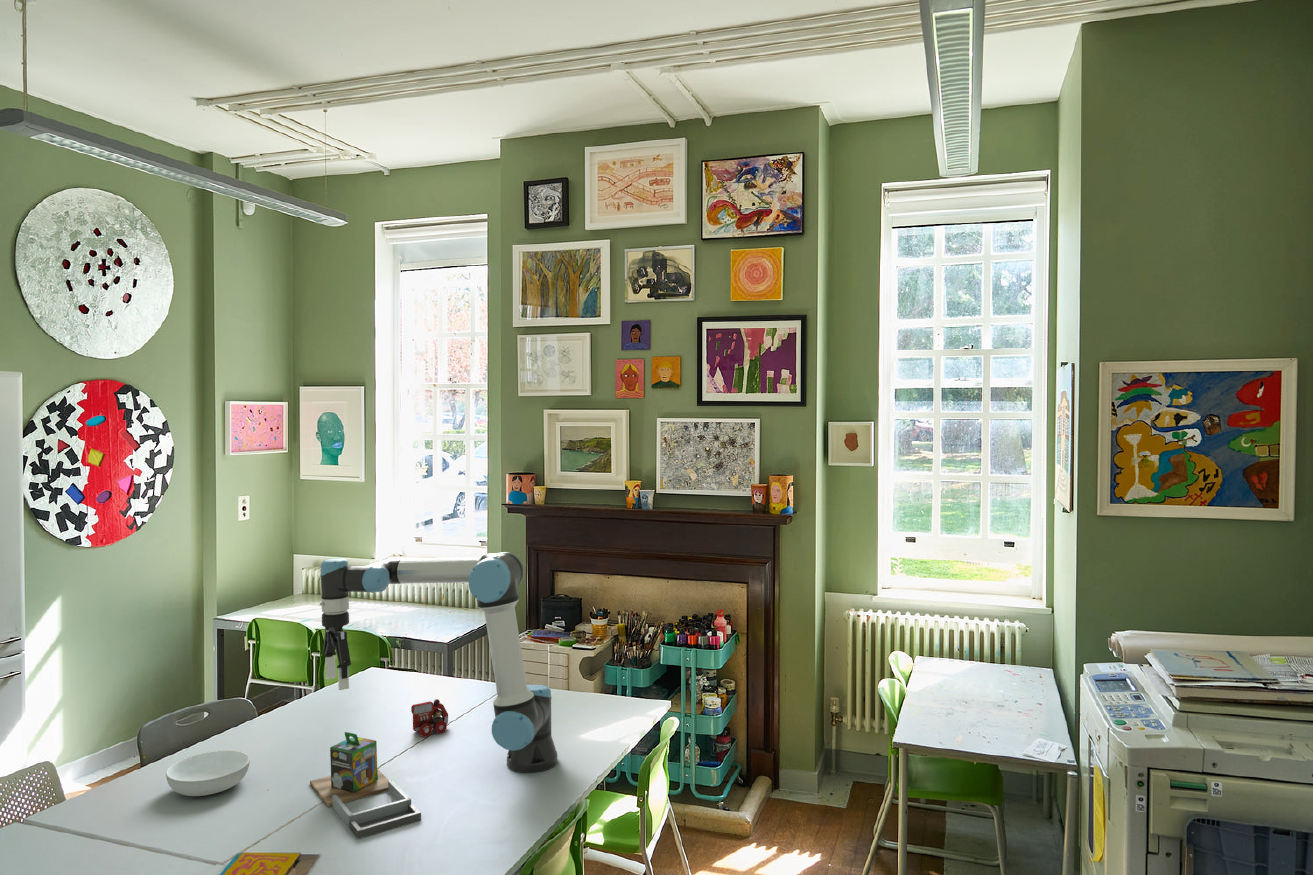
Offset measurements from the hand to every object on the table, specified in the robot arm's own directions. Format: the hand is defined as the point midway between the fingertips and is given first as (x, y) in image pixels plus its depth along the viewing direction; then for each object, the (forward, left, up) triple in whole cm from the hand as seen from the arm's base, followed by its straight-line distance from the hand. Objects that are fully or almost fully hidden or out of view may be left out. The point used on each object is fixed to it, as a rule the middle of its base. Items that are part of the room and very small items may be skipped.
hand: (337, 683), depth 244 cm
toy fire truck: (-5, -36, -26) cm, 45 cm away
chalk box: (-13, +7, -25) cm, 29 cm away
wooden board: (-12, +7, -26) cm, 29 cm away
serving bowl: (+25, +23, -26) cm, 43 cm away
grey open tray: (-29, +17, -26) cm, 43 cm away
